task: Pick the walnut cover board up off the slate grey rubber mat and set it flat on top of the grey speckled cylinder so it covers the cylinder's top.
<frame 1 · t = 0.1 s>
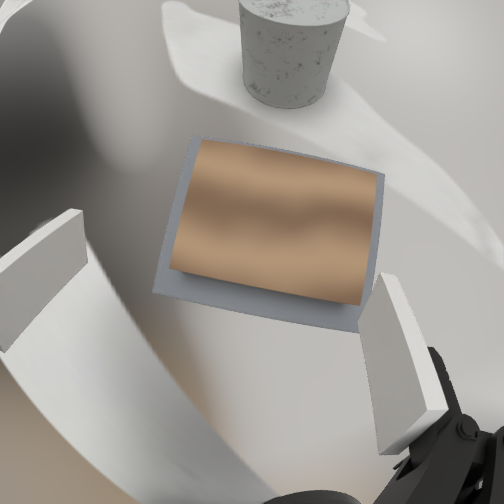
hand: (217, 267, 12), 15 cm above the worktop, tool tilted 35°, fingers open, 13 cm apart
mat: (275, 229, 28), on the worktop
grey speckled cylinder: (284, 77, 30), on the worktop
cover board: (275, 228, 28), resting on mat
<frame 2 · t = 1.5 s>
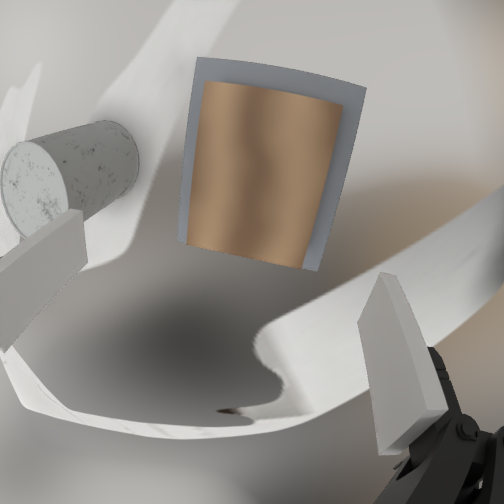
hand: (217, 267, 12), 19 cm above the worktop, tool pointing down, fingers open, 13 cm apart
mat: (263, 166, 29), on the worktop
grey speckled cylinder: (105, 160, 31), on the worktop
cover board: (262, 167, 28), resting on mat
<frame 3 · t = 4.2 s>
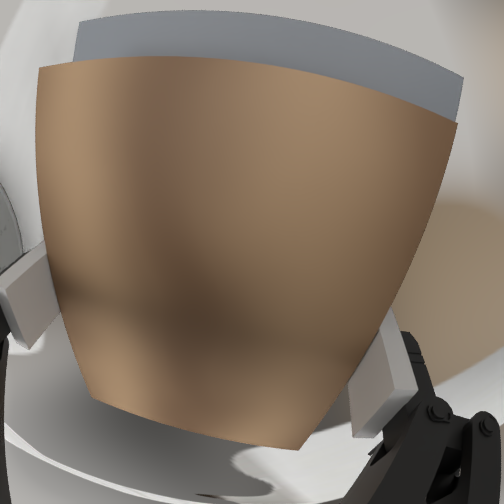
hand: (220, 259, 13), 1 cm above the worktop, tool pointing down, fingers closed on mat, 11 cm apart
mat: (223, 252, 13), on the worktop
cover board: (221, 257, 13), resting on mat
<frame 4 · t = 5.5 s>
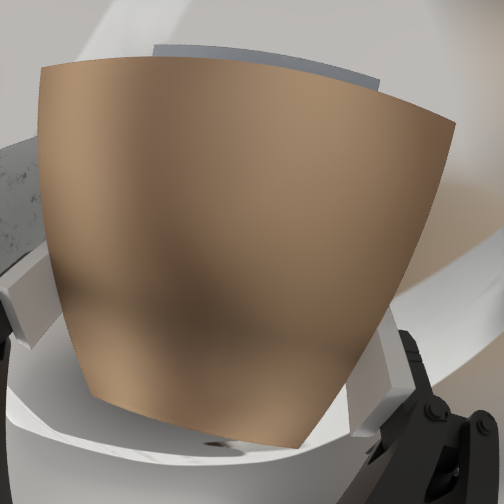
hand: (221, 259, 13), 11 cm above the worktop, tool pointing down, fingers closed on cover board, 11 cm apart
mat: (242, 185, 22), on the worktop
grey speckled cylinder: (54, 180, 23), on the worktop
cover board: (222, 256, 13), point 10 cm above the worktop, touching gripper
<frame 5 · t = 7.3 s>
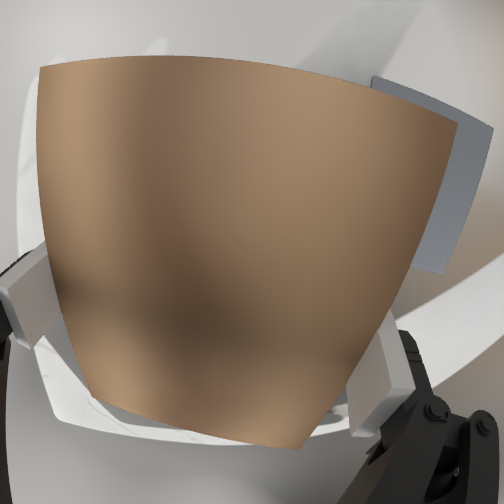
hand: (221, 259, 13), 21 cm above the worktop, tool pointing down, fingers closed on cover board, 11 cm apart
mat: (418, 184, 29), on the worktop
cover board: (222, 256, 13), point 20 cm above the worktop, touching gripper
when the fingers open (15 cm above the worktop, at t = 9.6 s): cover board drops 3 cm, resting on grey speckled cylinder.
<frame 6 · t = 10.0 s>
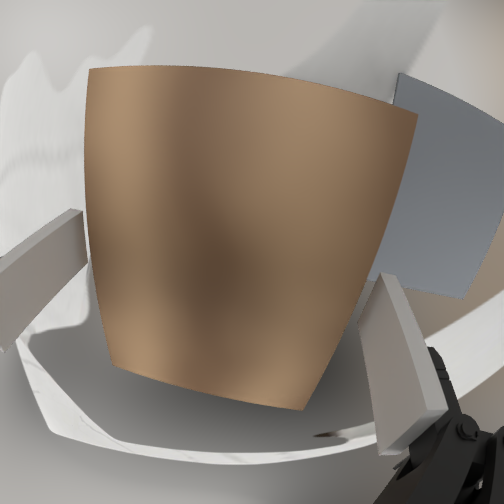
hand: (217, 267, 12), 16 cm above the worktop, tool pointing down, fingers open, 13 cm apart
mat: (445, 201, 24), on the worktop
cover board: (234, 232, 15), point 12 cm above the worktop, touching grey speckled cylinder
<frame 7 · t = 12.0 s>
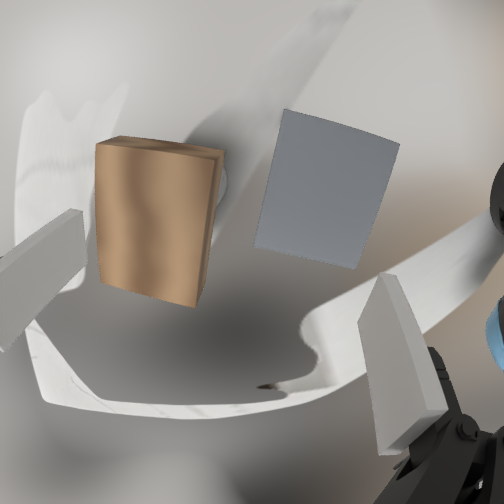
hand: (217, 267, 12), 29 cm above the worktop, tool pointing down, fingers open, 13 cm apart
mat: (325, 194, 40), on the worktop
cover board: (162, 212, 30), point 12 cm above the worktop, touching grey speckled cylinder
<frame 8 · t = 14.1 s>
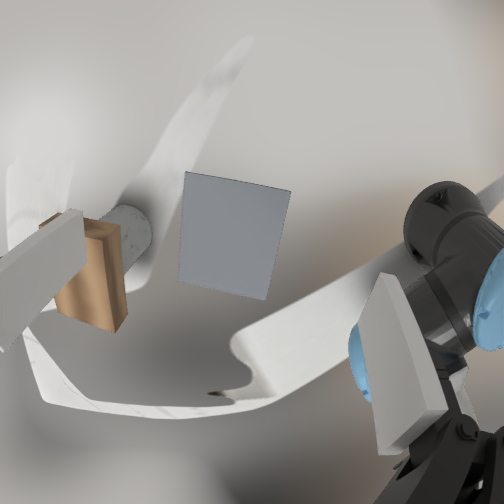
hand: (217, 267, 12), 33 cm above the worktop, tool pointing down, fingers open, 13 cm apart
mat: (228, 240, 49), on the worktop
grey speckled cylinder: (129, 229, 51), on the worktop, touching cover board
cover board: (92, 265, 40), point 12 cm above the worktop, touching grey speckled cylinder
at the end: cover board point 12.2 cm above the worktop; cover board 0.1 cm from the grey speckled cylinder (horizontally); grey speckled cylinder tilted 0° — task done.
